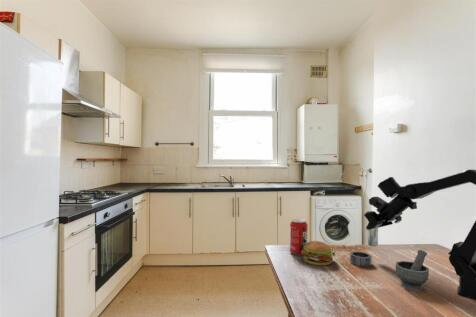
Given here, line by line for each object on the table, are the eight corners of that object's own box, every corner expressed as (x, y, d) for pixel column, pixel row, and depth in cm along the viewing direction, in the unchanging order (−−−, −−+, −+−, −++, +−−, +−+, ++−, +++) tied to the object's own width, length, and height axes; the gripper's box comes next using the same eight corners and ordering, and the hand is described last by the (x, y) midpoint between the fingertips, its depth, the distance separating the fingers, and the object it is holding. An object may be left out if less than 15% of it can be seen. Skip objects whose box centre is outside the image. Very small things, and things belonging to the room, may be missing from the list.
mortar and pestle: (414, 295, 87) (414, 257, 87) (388, 282, 96) (389, 248, 96) (438, 290, 91) (438, 253, 91) (411, 278, 100) (412, 245, 100)
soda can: (286, 251, 128) (287, 218, 128) (301, 249, 130) (302, 218, 130) (294, 256, 120) (295, 222, 120) (310, 255, 123) (311, 221, 123)
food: (331, 270, 106) (332, 249, 106) (296, 262, 114) (297, 243, 114) (339, 259, 118) (339, 241, 118) (307, 253, 125) (307, 236, 125)
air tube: (377, 247, 114) (377, 217, 115) (366, 245, 117) (366, 215, 117) (378, 244, 118) (379, 215, 118) (368, 242, 120) (369, 214, 120)
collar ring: (368, 268, 109) (368, 259, 109) (347, 263, 114) (347, 254, 114) (373, 262, 115) (373, 254, 115) (353, 258, 120) (353, 250, 120)
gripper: (394, 190, 119) (370, 211, 128) (369, 191, 109) (344, 214, 119) (413, 211, 112) (386, 232, 122) (388, 215, 102) (361, 237, 112)
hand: (369, 228), depth 119 cm, fingers closed on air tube, 4 cm apart
